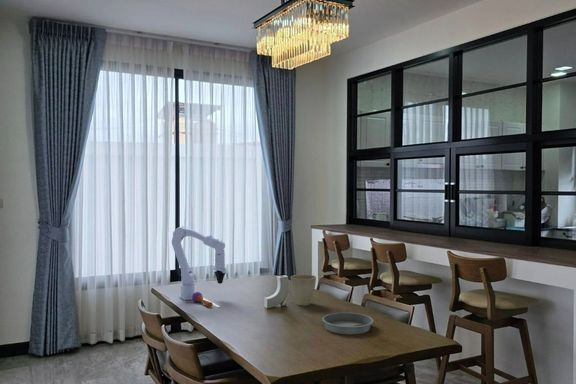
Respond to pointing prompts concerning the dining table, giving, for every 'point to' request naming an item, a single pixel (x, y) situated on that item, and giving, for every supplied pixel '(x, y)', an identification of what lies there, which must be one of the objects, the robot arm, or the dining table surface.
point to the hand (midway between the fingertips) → (219, 283)
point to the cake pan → (347, 323)
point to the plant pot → (303, 288)
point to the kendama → (201, 299)
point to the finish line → (212, 302)
